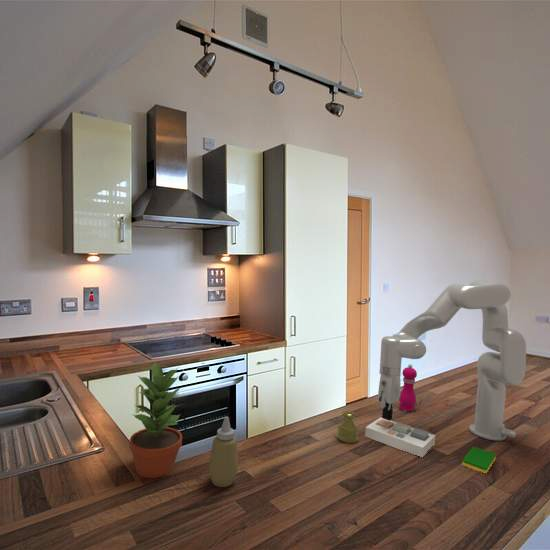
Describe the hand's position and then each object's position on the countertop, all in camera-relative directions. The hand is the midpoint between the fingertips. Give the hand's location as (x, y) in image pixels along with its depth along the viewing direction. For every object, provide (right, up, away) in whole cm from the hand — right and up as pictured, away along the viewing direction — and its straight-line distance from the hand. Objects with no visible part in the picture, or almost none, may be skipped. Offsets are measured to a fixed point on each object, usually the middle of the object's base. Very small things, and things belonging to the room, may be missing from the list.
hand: (387, 418), depth 146 cm
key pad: (+3, -6, -5) cm, 8 cm away
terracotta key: (-1, -4, 0) cm, 4 cm away
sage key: (+4, -4, -4) cm, 7 cm away
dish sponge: (+25, -9, -17) cm, 32 cm away
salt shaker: (-16, -5, -6) cm, 18 cm away
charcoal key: (+9, -5, -8) cm, 13 cm away
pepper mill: (+16, -6, +27) cm, 32 cm away
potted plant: (-76, -2, -34) cm, 83 cm away
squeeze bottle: (-56, -4, -38) cm, 68 cm away
